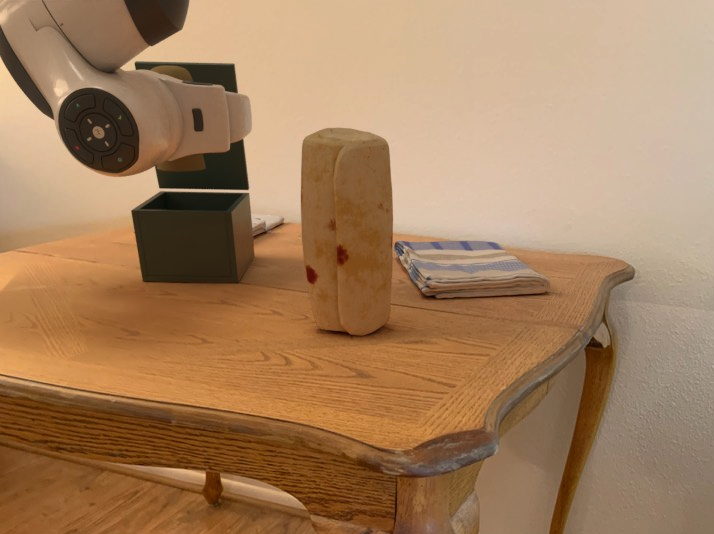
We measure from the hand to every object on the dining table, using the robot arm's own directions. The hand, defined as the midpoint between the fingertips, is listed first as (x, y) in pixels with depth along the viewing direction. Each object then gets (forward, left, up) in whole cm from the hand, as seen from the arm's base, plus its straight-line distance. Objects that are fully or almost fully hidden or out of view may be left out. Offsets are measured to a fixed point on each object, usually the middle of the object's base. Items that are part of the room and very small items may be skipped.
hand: (176, 108), depth 94 cm
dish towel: (+37, +2, -20) cm, 42 cm away
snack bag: (-3, +29, -20) cm, 35 cm away
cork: (0, -1, -7) cm, 7 cm away
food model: (+22, -23, -20) cm, 38 cm away
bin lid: (0, +8, -3) cm, 9 cm away
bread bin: (0, +3, -20) cm, 20 cm away
